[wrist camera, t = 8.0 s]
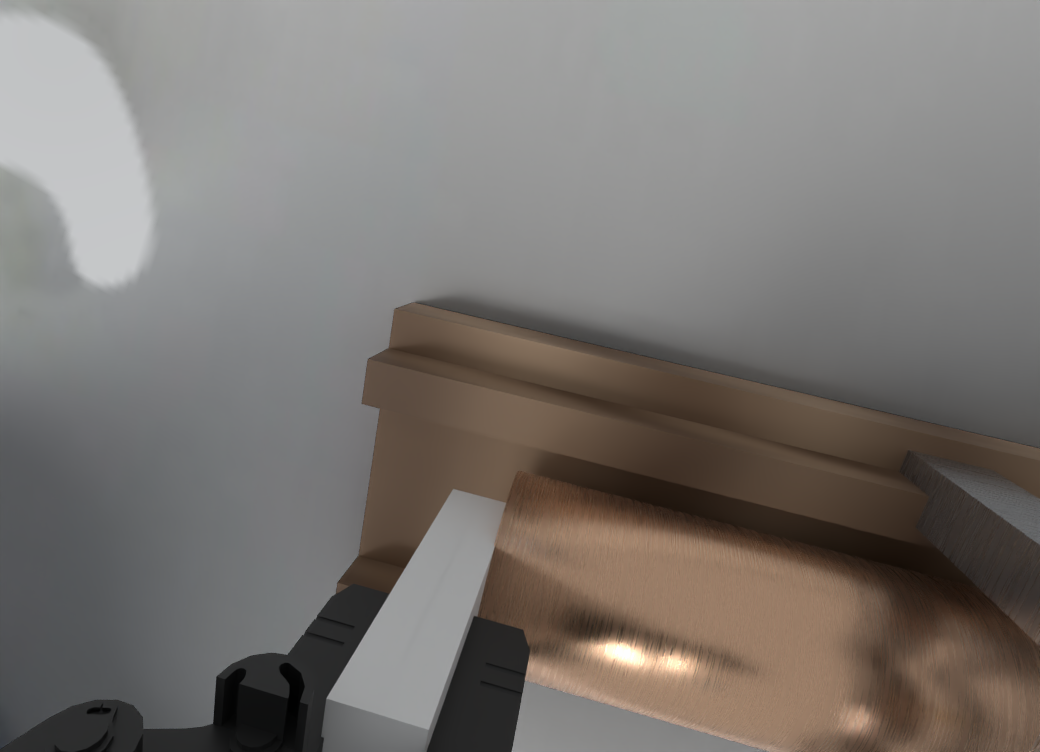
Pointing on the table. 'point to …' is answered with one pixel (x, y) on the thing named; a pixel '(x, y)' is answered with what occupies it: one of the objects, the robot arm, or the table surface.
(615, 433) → the channel board
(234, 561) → the table surface
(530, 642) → the copper tube
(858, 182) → the table surface
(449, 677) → the robot arm
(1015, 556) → the grey clamp brackets
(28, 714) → the table surface
